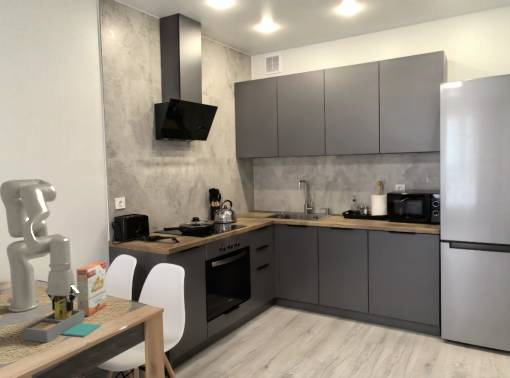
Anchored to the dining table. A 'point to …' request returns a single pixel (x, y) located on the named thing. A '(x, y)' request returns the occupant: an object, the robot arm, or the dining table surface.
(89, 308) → the cracker box
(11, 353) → the dining table surface
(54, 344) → the dining table surface
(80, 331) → the mat
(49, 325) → the offcut upper
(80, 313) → the rack
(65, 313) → the sauce bottle
